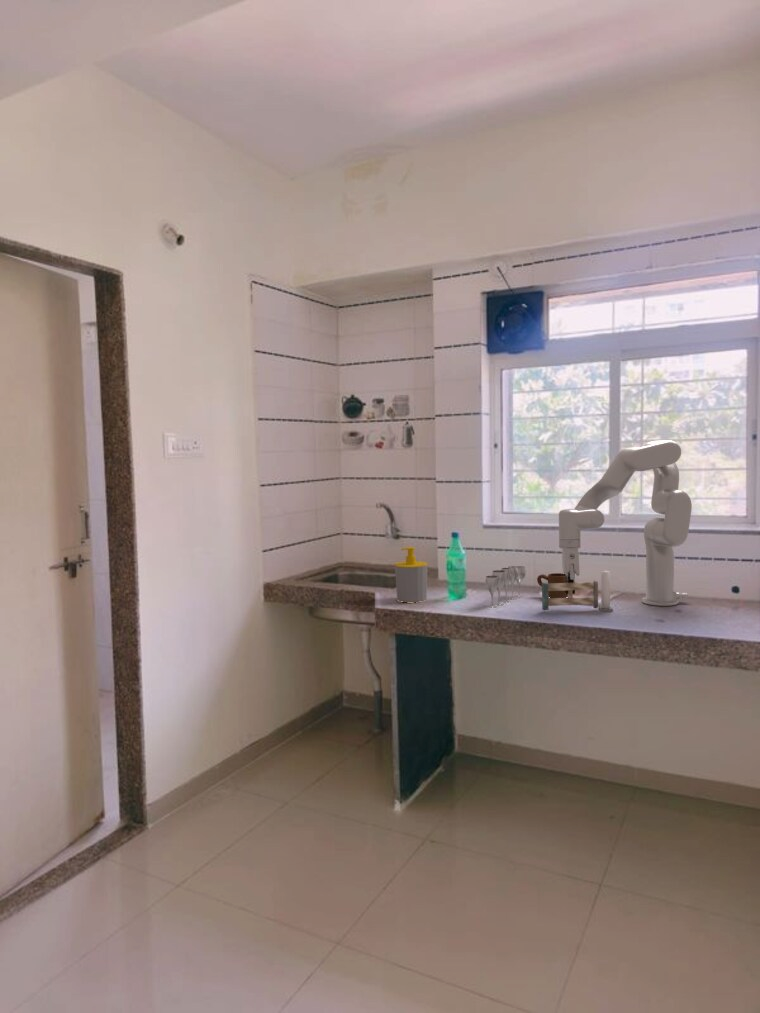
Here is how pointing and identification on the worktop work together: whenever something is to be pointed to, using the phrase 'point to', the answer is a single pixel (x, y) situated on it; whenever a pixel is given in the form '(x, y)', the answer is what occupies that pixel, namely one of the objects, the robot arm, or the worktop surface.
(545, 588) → the gate
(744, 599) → the worktop surface
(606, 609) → the gate post
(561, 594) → the mug
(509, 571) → the goblet set
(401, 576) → the soap bottle
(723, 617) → the worktop surface
